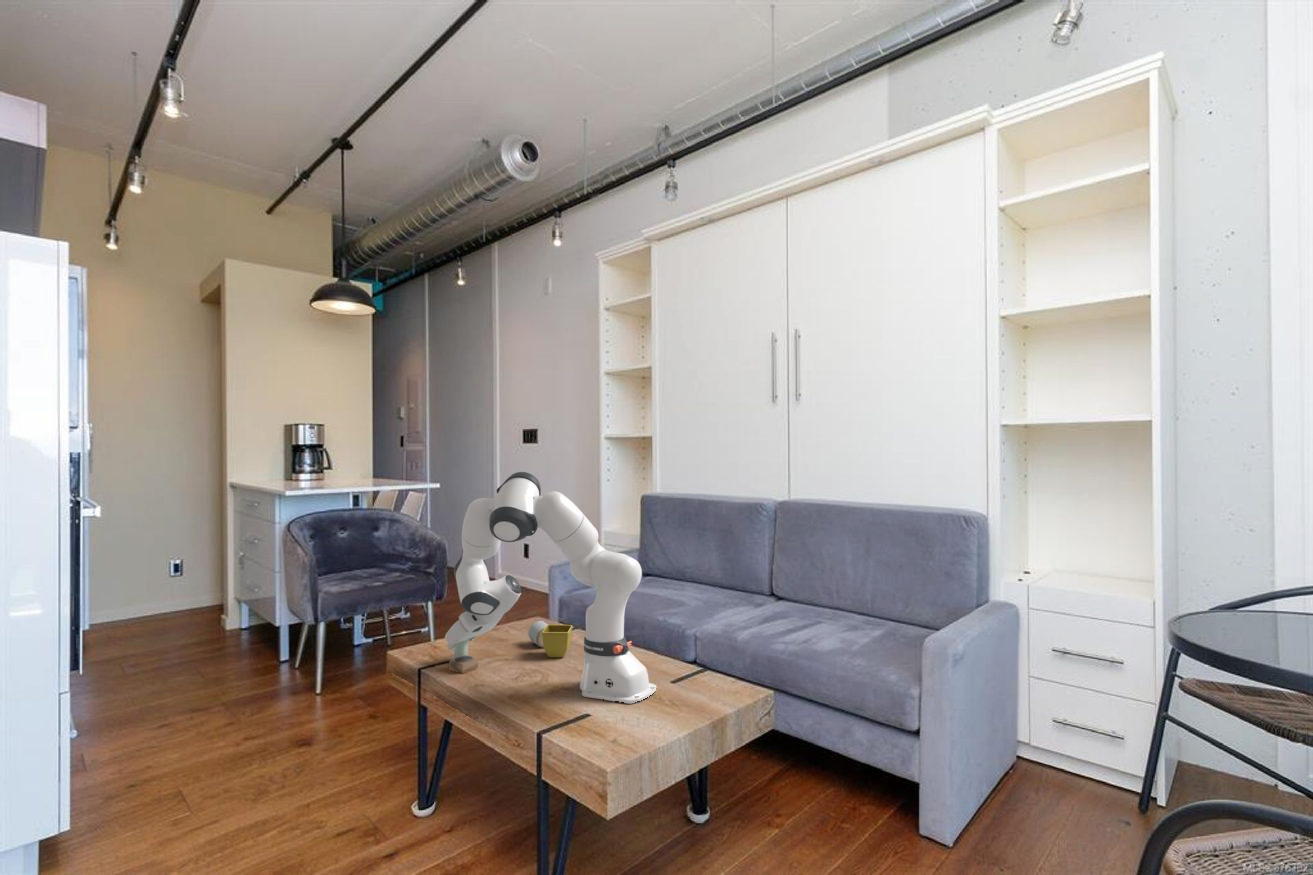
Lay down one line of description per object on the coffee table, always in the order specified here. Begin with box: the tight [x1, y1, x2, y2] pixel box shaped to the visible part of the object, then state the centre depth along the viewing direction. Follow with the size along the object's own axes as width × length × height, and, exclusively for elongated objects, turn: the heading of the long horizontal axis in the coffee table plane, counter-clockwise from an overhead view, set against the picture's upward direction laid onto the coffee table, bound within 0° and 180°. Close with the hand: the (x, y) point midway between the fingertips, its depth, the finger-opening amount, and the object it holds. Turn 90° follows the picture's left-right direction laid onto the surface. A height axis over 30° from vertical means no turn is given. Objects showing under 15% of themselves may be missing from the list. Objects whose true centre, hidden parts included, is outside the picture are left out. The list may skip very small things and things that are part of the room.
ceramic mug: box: [528, 620, 549, 649], centre depth 226 cm, size 11×8×8 cm
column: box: [453, 639, 469, 659], centre depth 207 cm, size 4×4×11 cm
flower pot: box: [542, 624, 573, 658], centre depth 214 cm, size 9×9×9 cm
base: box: [448, 655, 479, 674], centre depth 200 cm, size 6×6×3 cm
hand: (459, 643), depth 207 cm, fingers open, 8 cm apart
